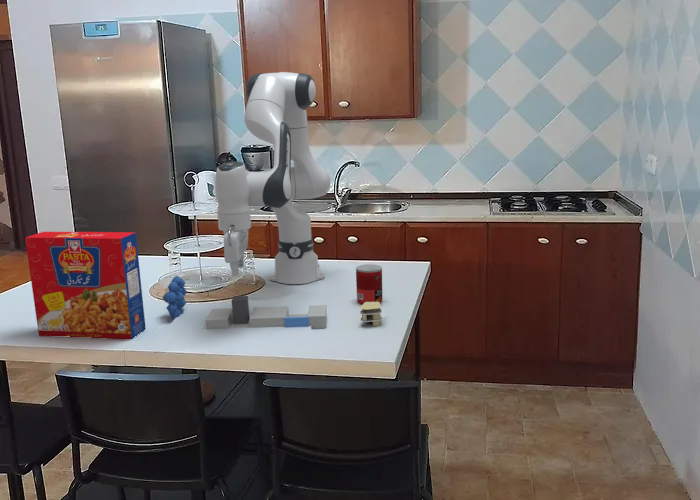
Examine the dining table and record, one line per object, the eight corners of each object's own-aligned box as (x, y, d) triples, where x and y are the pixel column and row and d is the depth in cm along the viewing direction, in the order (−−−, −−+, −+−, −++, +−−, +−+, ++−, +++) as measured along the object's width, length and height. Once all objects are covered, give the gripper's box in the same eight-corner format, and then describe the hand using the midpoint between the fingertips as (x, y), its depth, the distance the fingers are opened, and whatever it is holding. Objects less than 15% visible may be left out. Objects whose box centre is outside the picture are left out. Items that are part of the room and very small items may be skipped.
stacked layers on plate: (355, 319, 199) (355, 300, 198) (386, 318, 199) (386, 299, 197) (355, 330, 189) (354, 311, 188) (387, 330, 189) (387, 310, 188)
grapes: (171, 310, 211) (167, 272, 209) (192, 310, 211) (189, 272, 208) (156, 322, 200) (153, 282, 197) (179, 323, 199) (175, 282, 197)
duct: (209, 320, 200) (208, 309, 200) (326, 316, 201) (326, 305, 200) (202, 333, 190) (201, 321, 189) (326, 329, 190) (325, 316, 189)
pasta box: (38, 336, 192) (25, 237, 186) (56, 326, 200) (43, 231, 194) (131, 339, 187) (120, 238, 180) (145, 329, 194) (135, 232, 188)
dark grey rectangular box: (235, 319, 197) (233, 296, 196) (249, 319, 197) (247, 295, 196) (233, 324, 194) (231, 300, 192) (247, 323, 194) (245, 299, 192)
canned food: (380, 305, 209) (379, 270, 207) (354, 305, 211) (353, 270, 208) (384, 298, 216) (383, 264, 214) (359, 297, 218) (358, 263, 215)
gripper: (240, 228, 179) (244, 280, 182) (250, 215, 199) (253, 262, 202) (216, 229, 179) (220, 281, 182) (228, 216, 199) (232, 263, 202)
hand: (238, 271), depth 192 cm, fingers open, 8 cm apart
